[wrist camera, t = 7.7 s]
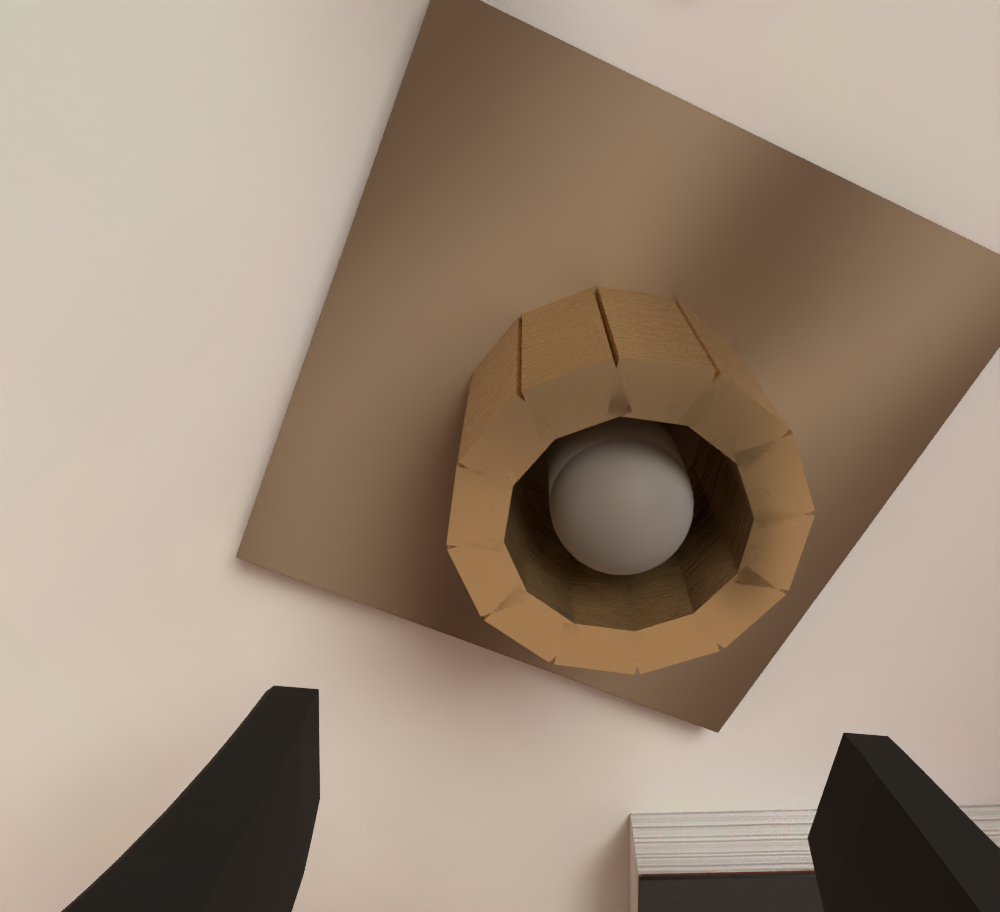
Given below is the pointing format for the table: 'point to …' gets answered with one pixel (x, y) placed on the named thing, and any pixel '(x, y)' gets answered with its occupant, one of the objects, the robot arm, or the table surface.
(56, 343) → the table surface
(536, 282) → the hub plate
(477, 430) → the wooden ring
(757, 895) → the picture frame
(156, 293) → the table surface
